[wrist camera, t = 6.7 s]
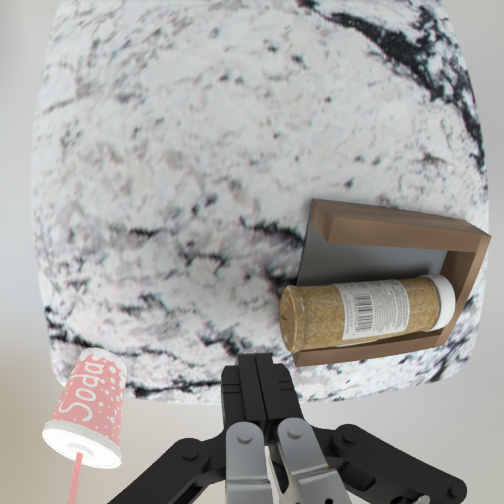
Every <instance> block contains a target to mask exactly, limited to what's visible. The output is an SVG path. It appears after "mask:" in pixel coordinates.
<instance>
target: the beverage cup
mask: <svg viewBox="0 0 504 504" xmlns="http://www.w3.org/2000/svg"><path fill="white" fill-rule="evenodd" d="M126 377H127V368H126V366H125V364H124V362H123V361H122V360H121V359H120V358H119V357H118V356H116V355H115V354H113V353H111V352H109V351H108V350H105V349H101V348H87V349H86V350H84V351H82V353H81V355H80V357H79V359H78V361H77V363H76V365H75V367H74V369H73V371H72V373H71V375H70V377H69V380H68V382H67V384H66V386H65V388H64V391H63V393H62V395H61V398H60V400H59V402H58V404H57V407H56V409H55V411H54V414H53V416H52V419H51V421H48V422H46V425H45V427H44V430H43V433H42V436H43V438H44V440H45V441H46V443H47V444H48V445H50V446H51V447H52V448H53V449H54V450H55V451H57V452H59V453H60V454H62V455H64V456H65V457H67V458H70V459H72V460H74V461H75V465H74V470H73V475H72V481H71V487H70V493H69V501H68V504H75V500H76V493H77V486H78V481H79V474H80V469H81V464H84V465H88V466H91V467H96V468H104V469H109V468H116V467H118V466H119V465H121V456H122V454H121V449H120V448H119V442H120V429H121V418H122V409H123V400H124V392H125V384H126Z"/></svg>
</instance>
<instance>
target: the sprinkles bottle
mask: <svg viewBox="0 0 504 504" xmlns="http://www.w3.org/2000/svg"><path fill="white" fill-rule="evenodd" d="M279 310H280V328H281V332H282V338H283V341H284V344H285V347H286V348H287V350H288V351H290V352H292V353H296V352H298V351H300V350H307V349H315V348H325V347H332V346H336V347H341V346H348V345H355V344H361V343H367V342H372V341H377V340H378V339H385V338H390V337H394V336H400V335H404V334H408V333H413V332H418V331H425V332H428V331H433V330H436V329H440V328H442V327H444V326H446V325H447V324H448V323H449V322H450V320H451V319H452V316H453V314H454V310H455V294H454V290H453V288H452V285H451V284H450V282H449V281H448V280H447V279H446V278H445V277H444V276H442V275H439V274H431V275H421V276H419V277H417V278H412V279H400V280H394V279H392V280H380V281H366V282H352V283H337V284H330V285H322V286H307V287H306V286H305V287H303V286H301V287H296V286H293V285H288V286H287V287H286V288H285V289H284V291H283V293H282V297H281V301H280V308H279Z"/></svg>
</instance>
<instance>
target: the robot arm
mask: <svg viewBox="0 0 504 504" xmlns="http://www.w3.org/2000/svg"><path fill="white" fill-rule="evenodd" d="M221 402H222V413H223V424H224V429H223V431H222V432H221V433H220V434H219V435H218V436H216V437H214V438H212V439H209V440H205V441H202V442H201V441H199V440H197V439H194V438H184V439H181V440H178V441H177V442H176V443H174V444H173V445H172V446H171V447H170V448H169V449H168V450H167V451H166V452H165V453H164V454H163V455H162V456H161V457H160V458H159V459H158V460H157V461H155V462H154V463H153V464H152V465H151V466H150V467H149V468H148V469H147V470H146V471H144V472H143V473H142V474H141V475H140V476H139V477H138V478H137V479H136V480H134V481H133V482H132V483H131V484H130V485H129V486H128V487H127V488H125V489H124V490H123V491H122V492H121V493H119V494H118V495H117V496H116V497H115V498H114V499H112V500H111V501H110V502H109V503H107V504H192V503H193V502H194V501H195V500H196V499H197V498H198V497H199V496H200V495H201V493H202V492H203V491H204V490H205V489H206V488H207V487H208V486H209V485H210V484H214V483H216V482H220V481H223V480H225V489H226V490H225V491H226V504H273V497H272V488H271V483H270V481H269V480H268V476H267V467H266V458H265V447H264V446H268V447H269V452H270V454H269V464H270V467H271V471H272V474H273V477H274V481H275V484H276V487H277V490H278V494H279V504H352V502H351V500H350V498H349V496H348V494H347V492H346V490H348V491H349V492H351V493H353V494H354V495H356V496H358V497H360V498H362V499H363V500H365V501H367V502H369V503H371V504H460V503H461V502H463V500H464V499H465V497H466V494H467V487H466V485H465V483H464V482H463V481H462V480H461V479H459V478H457V477H454V476H452V475H450V474H448V473H445V472H443V471H441V470H439V469H437V468H435V467H433V466H430V465H428V464H426V463H424V462H422V461H420V460H418V459H416V458H414V457H412V456H410V455H409V454H407V453H405V452H403V451H401V450H399V449H397V448H395V447H393V446H391V445H390V444H388V443H386V442H384V441H382V440H380V439H379V438H377V437H375V436H373V435H372V434H370V433H368V432H366V431H365V430H363V429H361V428H360V427H358V426H356V425H353V424H344V425H341V426H339V427H338V428H337V429H336V430H329V429H321V428H317V427H314V426H312V425H310V424H309V423H308V422H307V421H306V420H305V419H304V417H303V414H302V412H301V408H300V405H299V402H298V398H297V395H296V392H295V390H294V385H293V382H292V379H291V376H290V372H289V370H288V369H287V368H286V367H285V366H284V365H283V364H282V363H279V364H273V360H272V356H271V353H254V354H253V353H251V354H236V364H235V365H233V366H225V368H224V370H223V372H222V374H221Z"/></svg>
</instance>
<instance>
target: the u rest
mask: <svg viewBox="0 0 504 504" xmlns="http://www.w3.org/2000/svg"><path fill="white" fill-rule="evenodd" d="M490 239H491V236H490V235H489V234H487V233H485V232H484V231H482V230H480V229H479V228H477V227H475V226H474V225H472V224H470V223H469V222H467V221H465V220H460V219H454V218H449V217H443V216H437V215H431V214H425V213H419V212H413V211H406V210H400V209H393V208H386V207H378V206H371V205H363V204H355V203H347V202H338V201H329V200H320V199H312V204H311V210H310V216H309V221H308V227H307V233H306V238H305V243H304V249H303V254H302V259H301V264H300V269H299V274H298V279H297V284H296V287H301V286H303V287H305V286H306V287H307V286H322V285H330V284H337V283H352V282H366V281H380V280H392V279H394V280H400V279H412V278H417V277H419V276H421V275H431V274H439V275H442V276H444V277H445V278H446V279H447V280H448V281H449V282H450V284H451V285H452V288H453V290H454V294H455V310H454V314H453V316H452V319H451V320H450V322H449V323H448V324H447V325H446V326H444V327H442V328H440V329H436V330H433V331H428V332H425V331H418V332H413V333H408V334H404V335H400V336H394V337H390V338H385V339H378V340H377V341H372V342H367V343H361V344H355V345H348V346H341V347H336V346H332V347H325V348H315V349H307V350H300V351H298V352H296V353H292V352H291V354H292V357H293V360H294V363H295V366H296V367H299V366H312V365H323V364H333V363H342V362H351V361H358V360H366V359H373V358H379V357H386V356H392V355H398V354H403V353H409V352H414V351H419V350H424V349H429V348H434V347H438V346H443V345H445V343H446V341H447V339H448V337H449V335H450V333H451V332H452V330H453V328H454V326H455V324H456V322H457V320H458V318H459V316H460V314H461V312H462V310H463V307H464V305H465V303H466V301H467V299H468V297H469V294H470V292H471V290H472V287H473V285H474V283H475V280H476V278H477V275H478V273H479V270H480V268H481V265H482V262H483V260H484V257H485V254H486V251H487V248H488V245H489V242H490Z"/></svg>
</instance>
